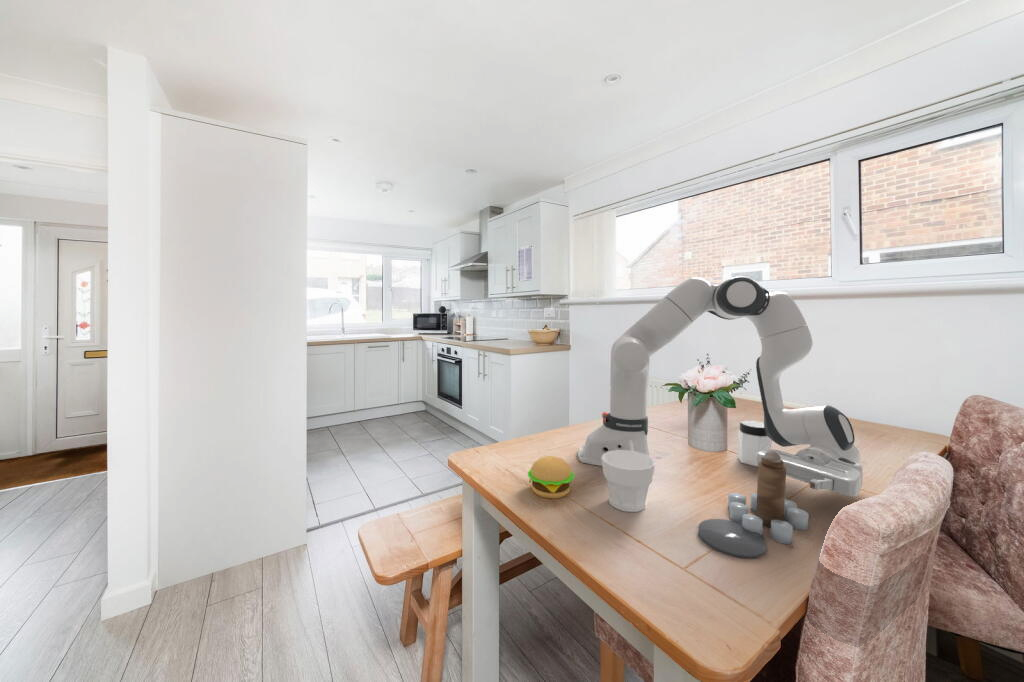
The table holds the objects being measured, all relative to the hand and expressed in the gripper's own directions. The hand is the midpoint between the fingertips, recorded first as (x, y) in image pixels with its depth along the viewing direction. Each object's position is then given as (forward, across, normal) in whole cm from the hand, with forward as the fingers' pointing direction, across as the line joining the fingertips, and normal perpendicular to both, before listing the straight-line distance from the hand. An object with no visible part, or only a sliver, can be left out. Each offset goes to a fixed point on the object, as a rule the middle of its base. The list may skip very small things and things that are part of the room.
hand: (789, 477), depth 86 cm
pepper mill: (+8, 0, +8) cm, 12 cm away
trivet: (+22, -1, +8) cm, 23 cm away
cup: (+29, -22, +9) cm, 37 cm away
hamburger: (+41, -37, +9) cm, 55 cm away
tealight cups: (+8, 0, +8) cm, 12 cm away
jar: (-25, -20, +9) cm, 33 cm away
